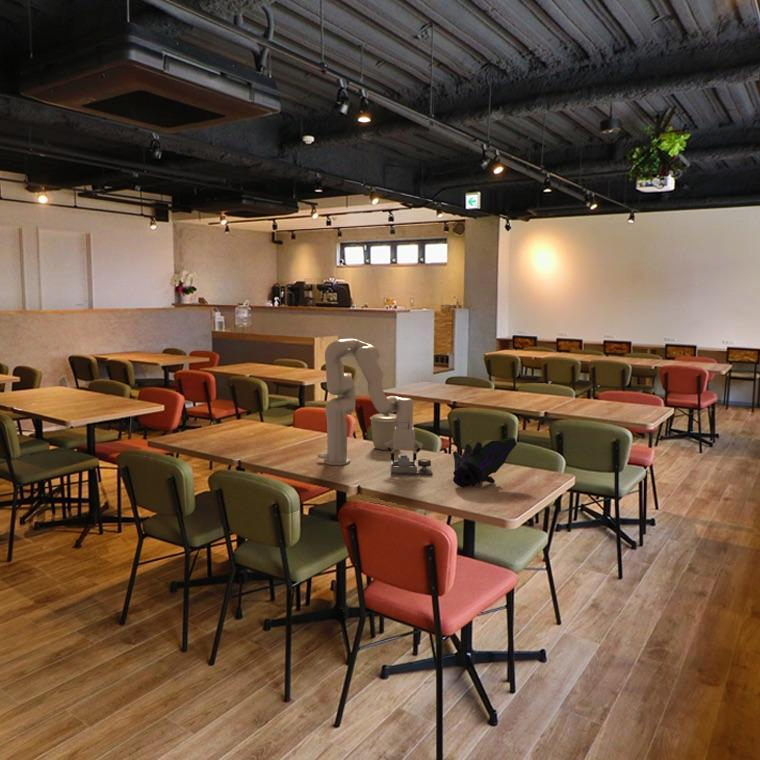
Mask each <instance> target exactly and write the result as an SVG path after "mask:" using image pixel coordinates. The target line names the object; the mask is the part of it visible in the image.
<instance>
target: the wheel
mask: <svg viewBox="0 0 760 760" xmlns="http://www.w3.org/2000/svg"><path fill="white" fill-rule="evenodd" d="M417 466H422V467H428V466H431V467H432V460H431V459H426V458H424V459H418V460H417Z"/></svg>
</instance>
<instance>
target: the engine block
mask: <svg viewBox="0 0 760 760" xmlns="http://www.w3.org/2000/svg"><path fill="white" fill-rule="evenodd" d="M397 461H398V466H408V467H409V461H410V454H408V453H400V454H398V455H397Z"/></svg>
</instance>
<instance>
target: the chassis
mask: <svg viewBox="0 0 760 760" xmlns="http://www.w3.org/2000/svg"><path fill="white" fill-rule="evenodd" d="M419 475H420V476H421V475H422V477H423V476H425V475H426V476H427V477H428V476H429V477H431V476H432V477H433V476H434V474H433V469H432V465H431V466H428V467H422V466H418V464H417V460H415V462H413V460H409V467H408V466H398V460H394V462H392V460H391V461H390V476H419ZM426 476H425V477H426Z"/></svg>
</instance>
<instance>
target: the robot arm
mask: <svg viewBox="0 0 760 760" xmlns="http://www.w3.org/2000/svg"><path fill="white" fill-rule="evenodd" d="M347 357H352V358H354V359H355V361H356V363H357V365H358V367H359V369H360V370H361V372H362V374H363V377H364V379H365V380H366V382H367V390H368V395H369V398H370V400H371V402H372V405H373V407H374V408H375V410H376V411H377V412H378V414H383V415H386V414H389V413H390V414H393V413H394V412H395V413H396V414H397V415H396V422H393V425H395V426H396V427H395V429H394V435H393V440H391V441H389V442H387V443H385V445H386V447H387V449H388V450H387V451H388V452H389V453H390V460H391V461H392V462H394V461H395V451H412V452H413V453H412V461H413V462H415V461H417V456H418V455H417V454H418V453H419V452H420V451H421V449H422V448H423V445H424V444H423V443H422V442H420V441H418V440H417V439H416V432H415V428H414V426H413V425H414V424H413V422H414V400H413V399H412V398H409V397H399V396H397V395H389V396H386V393H385V391H384V390H383V385H382V383H383V378H384V376H385V375H384V372H383V370H382V367H381V366H380V364H379V362H378V361H379V359H380V351H379V350H378V348H377V347H375V346H374V345H372V344H369V343H366V342H363V341H361V340H359V339H355V338H343V339H342V338H341V339H337V340H333V341H332V342H330V343H329V344H328V346H327V347H326V348H325V351H324V361H325V375H326V376H325V377H326V390H327V392H328V393H329V394H330V395H331V396H337V397H334V398H332V399H330V400H329V401H327V403H326V405H325V416H326V424H327V425H326V427H327V429H326V430H327V431H326V432H327V435H326V436H327V439H326V444H327V446H326V447H327V448H326V449H327V450H326V452H324V453H318V454H317V458H320V459H323V463H324V464H326V465H330V466H344V465H348V464H350V463H351V459H350V458H348V457H347V455H348V424H347V420H346V416H348V415H350V414H352V413H353V412H354V411H355V409H356V390H355V381H354V379H353V378H352V377H351V376H350V375H349V374H348V373H345V372H344V371H345V368H344V363H343V360H342V358H347ZM392 443H393V448H392V449H391V448H390V447H389V445H390V444H392ZM416 445H418V447H417V448H416Z"/></svg>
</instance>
